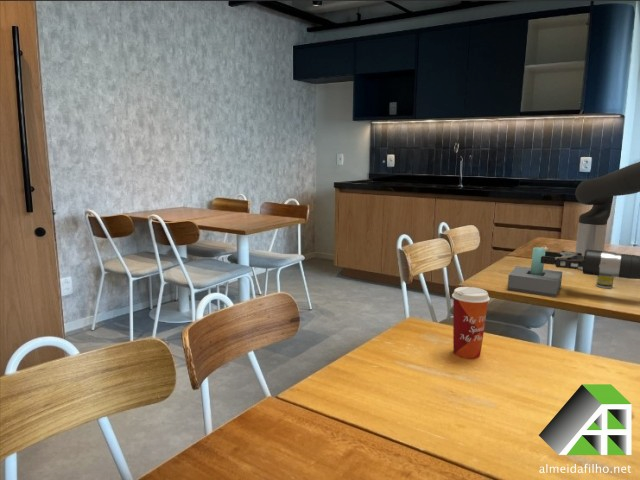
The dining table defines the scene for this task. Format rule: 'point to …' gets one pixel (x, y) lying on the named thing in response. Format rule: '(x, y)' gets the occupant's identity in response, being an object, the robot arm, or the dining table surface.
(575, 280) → the dining table surface
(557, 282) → the socket block
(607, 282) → the supplement bottle
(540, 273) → the pin
